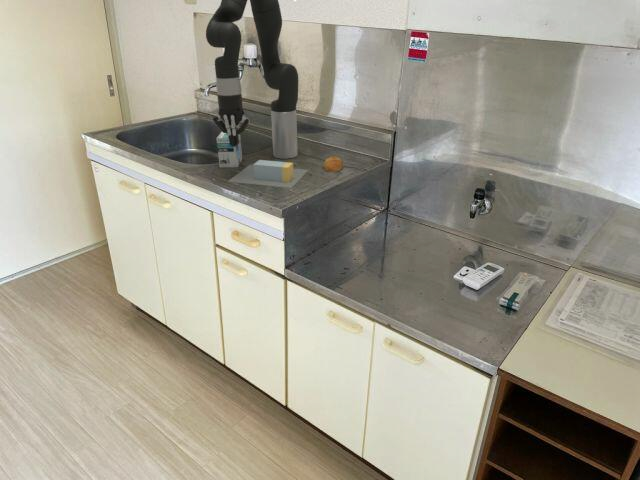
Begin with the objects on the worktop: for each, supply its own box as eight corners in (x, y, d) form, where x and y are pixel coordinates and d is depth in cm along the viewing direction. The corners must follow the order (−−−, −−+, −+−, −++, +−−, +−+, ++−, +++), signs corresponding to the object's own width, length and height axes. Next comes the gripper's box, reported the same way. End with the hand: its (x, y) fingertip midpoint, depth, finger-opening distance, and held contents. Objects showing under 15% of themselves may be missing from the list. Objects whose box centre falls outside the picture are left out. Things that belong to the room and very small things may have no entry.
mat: (250, 165, 172) (250, 164, 172) (308, 171, 167) (308, 169, 167) (227, 182, 157) (227, 181, 157) (291, 189, 151) (291, 187, 151)
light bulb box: (237, 168, 170) (235, 138, 165) (218, 168, 171) (215, 138, 166) (242, 158, 180) (240, 130, 175) (224, 158, 180) (222, 130, 175)
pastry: (343, 174, 164) (343, 164, 162) (323, 175, 164) (323, 164, 162) (342, 165, 172) (342, 155, 171) (323, 166, 173) (323, 155, 171)
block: (259, 159, 161) (293, 162, 158) (260, 174, 163) (293, 177, 160) (253, 164, 156) (287, 167, 153) (254, 178, 159) (288, 182, 156)
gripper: (204, 93, 149) (211, 148, 157) (243, 95, 145) (248, 150, 153) (215, 89, 155) (221, 141, 163) (253, 90, 152) (257, 144, 160)
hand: (234, 145), depth 158 cm, fingers closed
